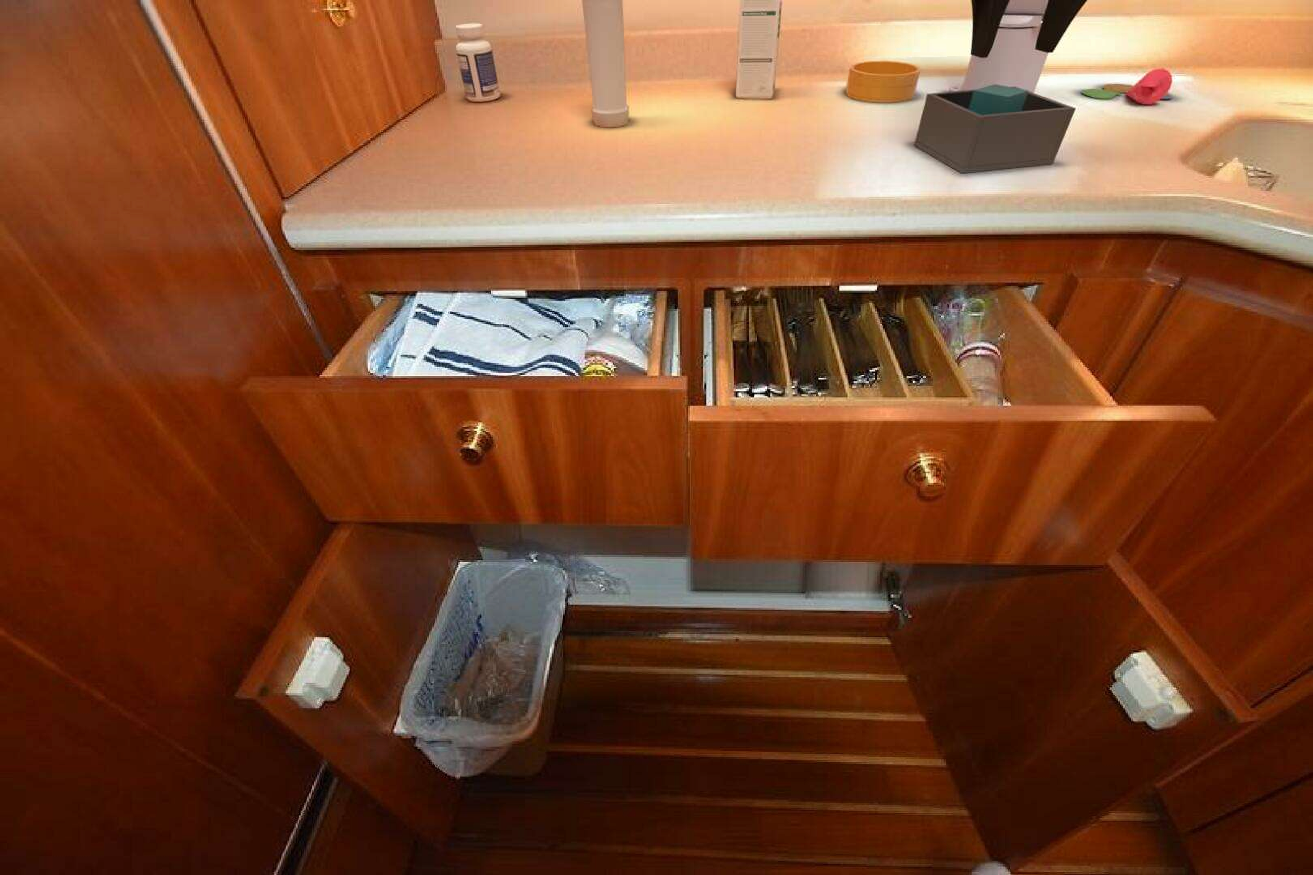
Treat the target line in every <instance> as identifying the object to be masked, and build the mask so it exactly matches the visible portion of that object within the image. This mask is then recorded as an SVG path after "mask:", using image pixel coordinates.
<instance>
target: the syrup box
mask: <svg viewBox="0 0 1313 875" xmlns="http://www.w3.org/2000/svg"><path fill="white" fill-rule="evenodd" d="M782 5H783V0H739V15H738V31H737V32H738V33H737V34H738V36H737V56H736V57H737V60H736V76H735V78H736V79H735V97H736V98H739V99H752V100H753V99H757V100H759V99H760V100H761V99H763V100H766V99H772V98H773V97H774V93H775V90H776V78H777V66H778V55H779V46H780V45H779V43H780V32H781V18H782V7H783V6H782Z"/></svg>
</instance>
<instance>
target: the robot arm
mask: <svg viewBox="0 0 1313 875" xmlns="http://www.w3.org/2000/svg"><path fill="white" fill-rule="evenodd" d="M1087 2H1088V0H970V3H971V12H972V13H971V14H972V29H971V30H972V31H971V34H972V35H971V46H970V59H969V63H968V65H967V69H966V72H965V76H964V80H963V83H962V86H956V87H955V86H954V87H949V88H948V90H947V92H954V91H966V90H976V89H980V88H983V87H987V86H990V85H994V84H996V85H1001V86H1007V87H1013V86H1015V87H1017V88H1020V89H1023V90H1028V91H1029V92H1032V93H1034V94H1035V91H1036V88H1037V86H1038V83H1039V80H1040V77H1041V75H1042V72H1043V69H1044V67H1045V64H1046V61H1047V58H1048V55H1049V54H1051V53H1054V51H1055V50H1056V48H1057V46H1058V45H1059V43H1060V42H1061V40H1062V38H1063V37H1064V35H1065V33H1066V32H1067V30H1068V28H1069V27H1070V25H1071V24H1072V22H1073V21H1074V19H1075V18H1076V16H1077V15H1078V13H1079V12H1080V11H1081V9H1082V8H1083V7H1084V6H1085V4H1086V3H1087Z"/></svg>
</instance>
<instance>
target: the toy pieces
mask: <svg viewBox="0 0 1313 875" xmlns="http://www.w3.org/2000/svg"><path fill="white" fill-rule="evenodd" d="M1172 84H1173V75H1172V73H1171V72H1170V71H1169V70H1167V69H1166V68H1163V67H1162V68H1155V69H1152V70H1150V71H1148V72H1146V74H1145V75H1144V76H1142V77H1141V79H1139V80H1138V81H1137V82H1136V83H1135V84H1134V85H1132V84H1122V83H1108V84H1103V86H1102V88H1089V89H1083V90H1081V91H1080V93H1081V94H1082V95H1085V96H1087V97H1091V98H1094V99H1100V100H1101V99H1102V100H1105V99H1106V100H1107V99H1109V100H1110V99H1113V98H1114V97H1116V96H1122V94H1125V95H1126V96H1128V97H1129V98H1130V99H1132V100H1134V101H1136V102H1137V103H1139V104H1140V105H1151V104H1154V103H1156V102H1158V101H1160V100H1172V99H1173V95H1171V94H1170V93H1168V92H1169V91H1170V90H1171V87H1172Z"/></svg>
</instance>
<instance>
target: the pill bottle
mask: <svg viewBox="0 0 1313 875" xmlns="http://www.w3.org/2000/svg"><path fill="white" fill-rule="evenodd" d="M455 30H456V36H457V39H459V42H458V43H457V44H456V46H455V52H456V57H457V62H458V65H459V70H460V75H461V79H462V84H463V89H464V93H465V96H466V99H467V100H468V101H470V102H477V103H483V102H484V103H485V102H491V101H495V100H496V99H499V98H500V96H501V91H500V87H499V81H498V75H497V72H496V71H497V70H496V64H495V59H494V54H493V49H492V44H491V43H490V42H489V41H487V40H485V38H484V37H485V29H484V26H483V24H482V23H476V22H475V23H474V22H473V23H472V22H471V23H462V24H457V25H456V26H455Z"/></svg>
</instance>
